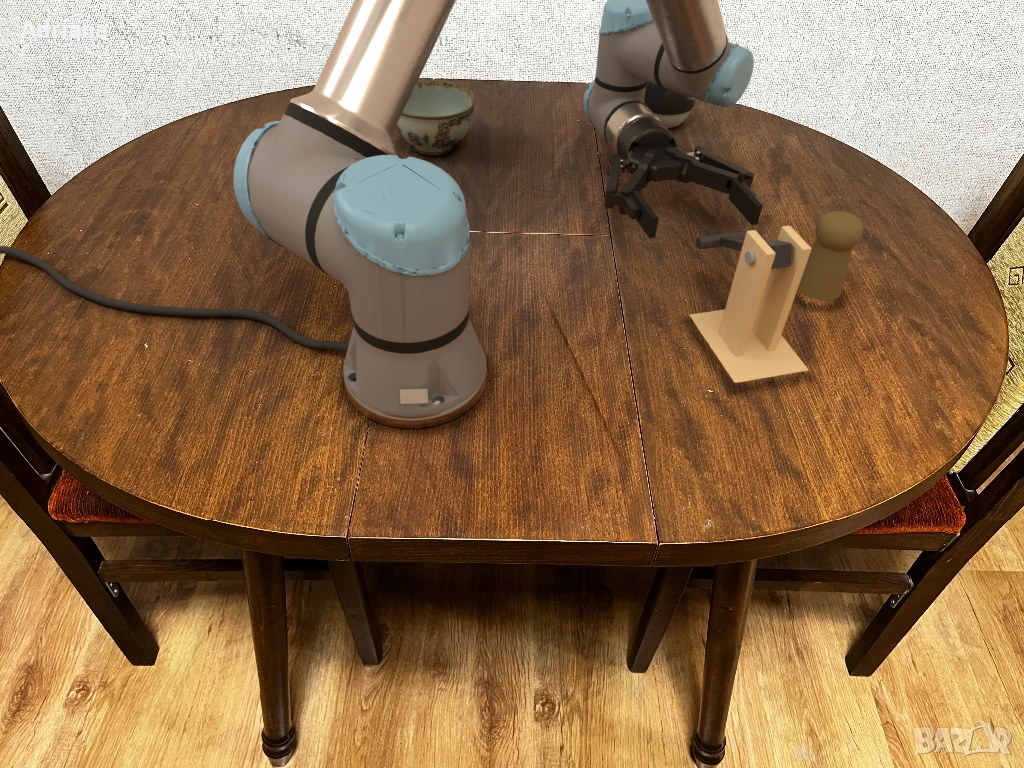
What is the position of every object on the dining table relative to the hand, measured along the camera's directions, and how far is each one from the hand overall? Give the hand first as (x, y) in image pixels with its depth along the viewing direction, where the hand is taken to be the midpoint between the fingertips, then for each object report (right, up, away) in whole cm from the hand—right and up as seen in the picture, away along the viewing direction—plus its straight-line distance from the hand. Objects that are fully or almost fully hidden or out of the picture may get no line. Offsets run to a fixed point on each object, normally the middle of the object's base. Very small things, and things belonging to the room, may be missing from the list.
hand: (706, 222), depth 92 cm
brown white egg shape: (+2, +25, +38) cm, 46 cm away
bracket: (+3, -15, -4) cm, 16 cm away
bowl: (-36, +18, +30) cm, 50 cm away
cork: (+15, -8, +4) cm, 17 cm away
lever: (+2, -6, -8) cm, 10 cm away
